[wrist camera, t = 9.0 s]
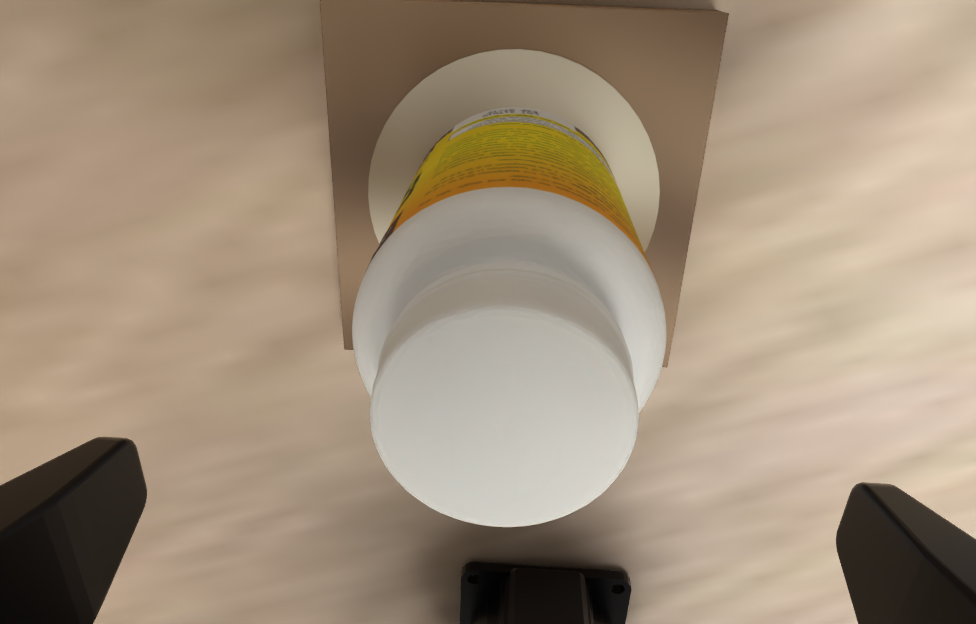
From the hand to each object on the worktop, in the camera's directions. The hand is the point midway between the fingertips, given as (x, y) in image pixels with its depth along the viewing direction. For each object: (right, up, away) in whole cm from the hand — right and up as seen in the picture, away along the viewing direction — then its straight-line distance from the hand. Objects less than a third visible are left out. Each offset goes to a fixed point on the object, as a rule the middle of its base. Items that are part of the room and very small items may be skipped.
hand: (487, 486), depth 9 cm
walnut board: (+1, +6, +12) cm, 13 cm away
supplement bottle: (+1, +5, +11) cm, 12 cm away
